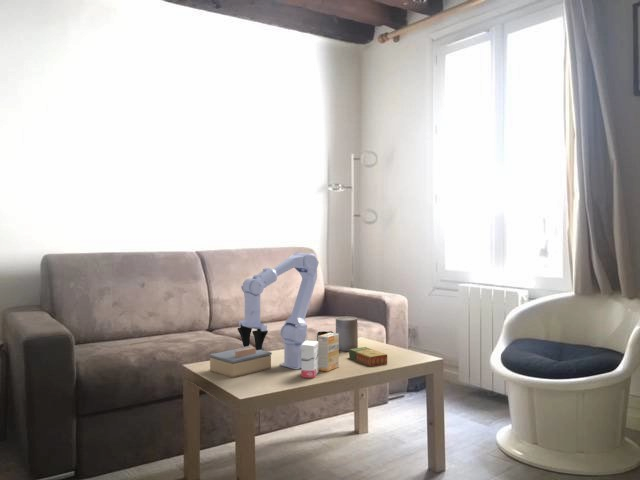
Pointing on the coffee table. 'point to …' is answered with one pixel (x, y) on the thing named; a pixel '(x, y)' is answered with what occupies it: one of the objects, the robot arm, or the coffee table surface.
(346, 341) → the pillar candle
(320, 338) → the supplement box
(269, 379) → the coffee table surface
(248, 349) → the lid
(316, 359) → the ink box
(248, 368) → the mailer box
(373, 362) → the carton
